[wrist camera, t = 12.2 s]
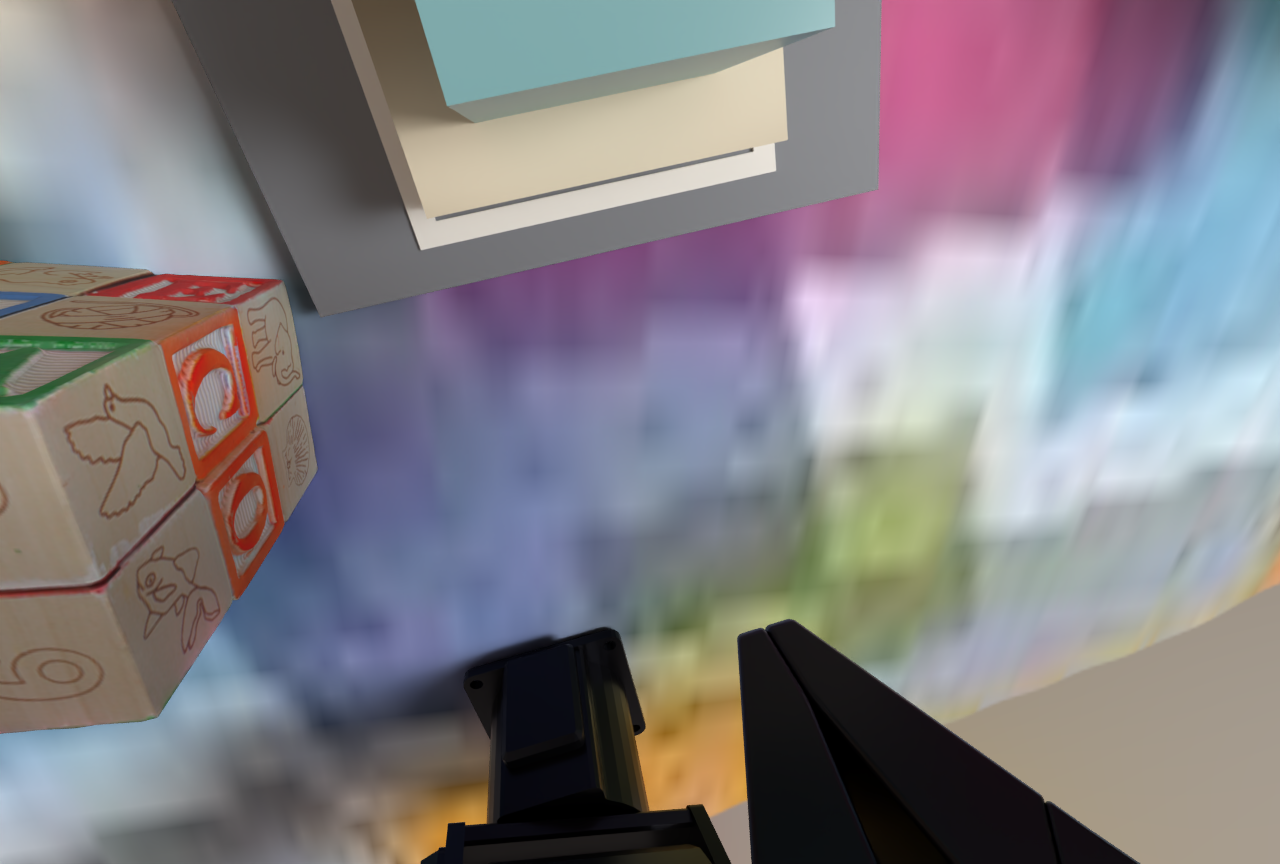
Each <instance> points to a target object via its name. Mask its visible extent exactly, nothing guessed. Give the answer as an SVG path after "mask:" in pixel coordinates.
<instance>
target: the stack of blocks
mask: <svg viewBox="0 0 1280 864" xmlns="http://www.w3.org/2000/svg"><path fill="white" fill-rule="evenodd" d="M302 383H303V374H302V368H301V361H300V355H299V348H298V343H297V338H296V332H295V327H294V322H293V316H292V311H291V307H290V303H289V298H288V294H287V290H286V286H285V284H284V282H283V280H276V279H253V278H231V277H212V276H193V275H172V274H162V275H154V274H153V273H152V272H150V271H148V270H144V269H128V268H113V267H97V266H79V265H62V264H45V263H28V262H26V263H12V262H8V261H0V734H2V733H14V732H25V731H34V730H47V729H68V728H80V727H86V726H92V725H99V724H114V723H129V722H142V721H146V720H150V719H154V718H157V717H158V716H159V715H160V713H161V712H162V710H163V709H164V707H165V706H166V704H167V702H168V701H169V699H170V698H171V696H172V695H173V693H174V692H175V690H176V689H177V687H178V686H179V684H180V683H181V681H182V680H183V678H184V677H185V675H186V674H187V672H188V671H189V669H190V668H191V666H192V665H193V663H194V662H195V660H196V658H197V657H198V655H199V654H200V652H201V651H202V649H203V648H204V646H205V645H206V643H207V641H208V640H209V639H210V637H211V636H212V634H213V633H214V631H215V630H216V628H217V627H218V625H219V624H220V622H221V620H222V619H223V617H224V615H225V613H226V612H227V611H228V609H229V608H230V606H231V604H232V600H238V599H239V598H240V596H241V595H242V594H243V592H244V591H245V589H246V588H247V586H248V584H249V583H250V581H251V580H252V578H253V577H254V575H255V573H256V572H257V570H258V569H259V567H260V566H261V564H262V562H263V561H264V559H265V558H266V556H267V554H268V553H269V551H270V549H271V548H272V546H273V544H274V543H275V541H276V540H277V538H278V537H279V535H280V533H281V532H282V529H283V527H284V523H285V522H286V521H288V519H289V517H290V516H291V514H292V512H293V510H294V509H295V507H296V505H297V504H298V502H299V500H300V499H301V497H302V496H303V494H304V492H305V490H306V489H307V487H308V486H309V484H310V482H311V481H312V479H313V478H314V476H315V474H316V472H317V469H318V467H317V462H316V458H315V451H314V444H313V439H312V433H311V428H310V422H309V416H308V410H307V404H306V397H305V391H304V388H303V385H302Z"/></svg>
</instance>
